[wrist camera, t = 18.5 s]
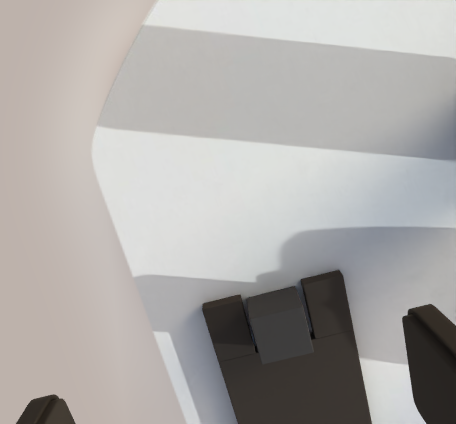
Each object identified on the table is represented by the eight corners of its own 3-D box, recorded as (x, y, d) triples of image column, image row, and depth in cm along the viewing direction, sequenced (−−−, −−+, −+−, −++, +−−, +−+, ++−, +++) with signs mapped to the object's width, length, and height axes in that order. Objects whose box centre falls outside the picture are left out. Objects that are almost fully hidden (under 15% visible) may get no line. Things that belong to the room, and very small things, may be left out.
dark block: (257, 339, 39) (261, 365, 35) (246, 297, 37) (249, 319, 34) (304, 328, 38) (314, 352, 35) (294, 285, 37) (303, 306, 33)
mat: (269, 517, 45) (270, 527, 44) (202, 303, 38) (202, 309, 36) (383, 492, 45) (387, 503, 43) (338, 269, 37) (342, 275, 36)
